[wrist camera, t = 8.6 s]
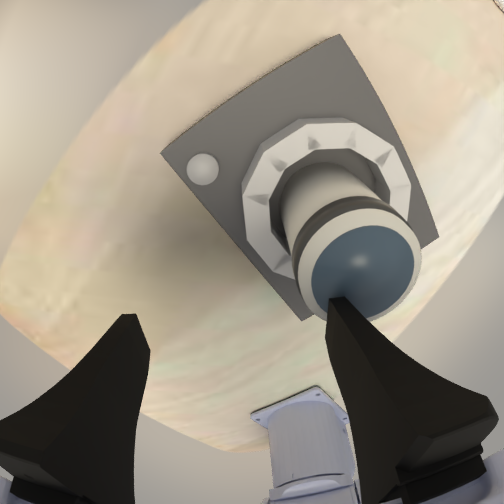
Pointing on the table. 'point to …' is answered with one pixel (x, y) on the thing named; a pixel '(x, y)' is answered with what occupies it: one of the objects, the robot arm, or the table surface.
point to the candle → (500, 4)
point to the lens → (347, 242)
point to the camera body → (295, 154)
